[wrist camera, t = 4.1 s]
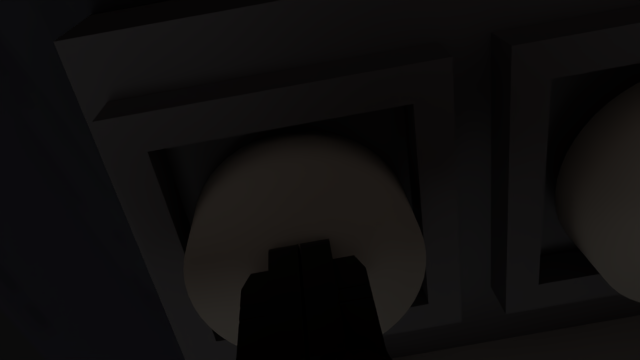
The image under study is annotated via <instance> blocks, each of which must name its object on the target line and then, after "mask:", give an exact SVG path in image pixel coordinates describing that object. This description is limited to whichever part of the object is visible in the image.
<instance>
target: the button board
mask: <svg viewBox="0 0 640 360" xmlns="http://www.w3.org/2000/svg"><path fill="white" fill-rule="evenodd" d="M54 44H55V47H56V49H57V52H58V54H59V56H60V59H61V61H62V64H63V66H64V68H65V71H66V73H67V76H68V78H69V81H70V83H71V85H72V88H73V90H74V93H75V95H76V97H77V100H78V102H79V105H80V107H81V109H82V112H83V114H84V117H85V119H86V122H87V124H88V126H89V129H90V131H91V134H92V136H93V138H94V141H95V143H96V146H97V148H98V150H99V153H100V155H101V158H102V160H103V163H104V165H105V167H106V170H107V172H108V175H109V177H110V179H111V182H112V184H113V187H114V189H115V191H116V194H117V196H118V199H119V201H120V204H121V206H122V208H123V211H124V213H125V216H126V218H127V220H128V223H129V225H130V228H131V230H132V232H133V235H134V237H135V240H136V242H137V244H138V247H139V249H140V252H141V254H142V257H143V259H144V261H145V264H146V266H147V269H148V271H149V273H150V276H151V278H152V281H153V283H154V285H155V288H156V290H157V293H158V295H159V298H160V300H161V302H162V305H163V307H164V310H165V312H166V314H167V317H168V319H169V322H170V324H171V326H172V329H173V331H174V334H175V336H176V339H177V341H178V343H179V346H180V348H181V351H182V353H183V355H184V358H185V360H236V355H237V346H236V345H234V344H232V343H230V342H229V341H227V340H226V339H224V338H223V337H221V336H220V335H218V334H217V333H216V332H215V331H214V330H212V329H211V328H210V327H209V326H208V325H207V324H206V323H205V321H204V320H203V319H202V318H201V317H200V316H199V314H198V313H197V311H196V310H195V308H194V307H193V304H192V302H191V300H190V298H189V296H188V293H187V289H186V286H185V281H184V272H183V268H184V256H185V251H186V247H187V243H188V238H189V234H190V230H191V226H192V222H193V217H194V213H195V209H196V205H197V200H198V198H199V195H200V193H201V190H202V188H203V186H204V185H205V183H206V181H207V180H208V178H209V177H210V175H211V174H212V173H213V172H214V170H215V169H216V168H217V167H218V166H219V165H220V164H221V163H222V162H223V161H224V160H225V159H226V158H227V157H229V156H230V155H231V154H233V153H234V152H236V151H237V150H238V149H240V148H242V147H244V146H246V145H247V144H249V143H251V142H253V141H256V140H259V139H261V138H264V137H267V136H270V135H274V134H278V133H283V132H291V131H319V132H327V133H331V134H335V135H339V136H343V137H346V138H348V139H351V140H353V141H356V142H358V143H360V144H361V145H363V146H365V147H367V148H369V149H370V150H371V151H373V152H374V153H375V154H377V155H378V156H379V157H380V158H381V159H382V160H383V161H384V162H385V163H386V164H387V165H388V166H389V167H390V168H391V169H392V171H393V172H394V174H395V175H396V176H397V178H398V180H399V182H400V184H401V186H402V188H403V190H404V192H405V195H406V197H407V199H408V202H409V204H410V206H411V209H412V211H413V213H414V216H415V218H416V220H417V223H418V225H419V227H420V230H421V233H422V236H423V239H424V243H425V249H426V268H425V274H424V279H423V282H422V285H421V288H420V291H419V292H418V294H417V296H416V298H415V300H414V302H413V303H412V305H411V306H410V308H409V309H408V311H407V312H406V313H405V314H404V315H403V316H402V318H401V319H400V320H399V321H398V322H397V323H396V324H395V325H393V326H392V327H391V328H390V329H389V330H388V331H386V332H385V333H383V334H382V335H383V339H384V343H385V347H386V350H387V352H388V354H389V356H390V357H391V359H392V360H640V302H637V301H634V300H631V299H629V298H627V297H625V296H623V295H622V294H620V293H618V292H617V291H616V290H615V289H613V288H612V287H611V286H610V285H609V284H608V283H607V281H606V280H605V279H604V278H603V277H602V276H601V274H600V273H599V272H598V271H597V270H596V268H595V267H594V266H593V265H592V264H591V263H590V261H589V260H588V259H587V258H586V257H585V255H584V254H583V253H582V252H581V251H580V250H579V248H578V247H577V246H576V245H575V244H574V242H573V241H572V240H571V239H570V238H569V236H568V235H567V234H566V233H565V231H564V229H563V228H562V226H561V224H560V221H559V218H558V216H557V211H556V205H555V189H556V182H557V177H558V174H559V171H560V167H561V165H562V162H563V160H564V158H565V155H566V153H567V151H568V150H569V148H570V146H571V145H572V143H573V141H574V139H575V138H576V137H577V135H578V134H579V133H580V131H581V130H582V129H583V127H584V126H585V125H586V124H587V123H588V122H589V121H590V119H591V118H592V117H593V116H594V115H595V114H596V113H597V112H598V111H599V110H601V109H602V108H603V107H604V106H605V105H606V104H607V103H608V102H610V101H611V100H612V99H614V98H615V97H616V96H618V95H619V94H620V93H622V92H624V91H625V90H627V89H628V88H630V87H632V86H633V85H635V84H637V83H639V82H640V0H170V1H165V2H159V3H154V4H148V5H143V6H137V7H132V8H126V9H121V10H115V11H110V12H105V13H99V14H94V15H90V16H89V17H87V18H86V19H85V20H83V21H82V22H80V23H79V24H78V25H76V26H75V27H73V28H72V29H71V30H69V31H68V32H66V33H65V34H64V35H62V36H61V37H59V38H58V39H57V40H55V41H54Z"/></svg>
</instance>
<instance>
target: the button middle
mask: <svg viewBox="0 0 640 360" xmlns="http://www.w3.org/2000/svg"><path fill="white" fill-rule="evenodd" d="M555 205H556V211H557V216H558V218H559V221H560V224H561V226H562V228H563V229H564V231H565V233H566V234H567V235H568V236H569V238H570V239H571V240H572V241H573V242H574V244H575V245H576V246H577V247H578V248H579V250H580V251H581V252H582V253H583V254H584V255H585V257H586V258H587V259H588V260H589V261H590V263H591V264H592V265H593V266H594V267H595V268H596V270H597V271H598V272H599V273H600V274H601V276H602V277H603V278H604V279H605V280H606V281H607V283H608V284H609V285H610V286H611V287H612V288H613V289H615V290H616V291H617V292H618V293H620V294H622V295H623V296H625V297H627V298H629V299H631V300H634V301H637V302H640V82H639V83H637V84H635V85H633V86H632V87H630V88H628V89H627V90H625V91H624V92H622V93H620V94H619V95H618V96H616V97H615V98H614V99H612V100H611V101H610V102H608V103H607V104H606V105H605V106H604V107H603V108H602V109H601V110H599V111H598V112H597V113H596V114H595V115H594V116H593V117H592V118H591V119H590V121H589V122H588V123H587V124H586V125H585V126H584V127H583V129H582V130H581V131H580V133H579V134H578V135H577V137H576V138H575V139H574V141H573V143H572V145H571V146H570V148H569V150H568V151H567V153H566V155H565V158H564V160H563V162H562V165H561V167H560V171H559V174H558V177H557V182H556V189H555Z"/></svg>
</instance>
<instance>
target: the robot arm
mask: <svg viewBox="0 0 640 360" xmlns="http://www.w3.org/2000/svg"><path fill="white" fill-rule="evenodd" d="M300 250H301V253H300ZM236 360H392V359H391V357H390V356H389V354H388V352H387V350H386V347H385V343H384V339H383V335H382V331H381V327H380V323H379V318H378V314H377V310H376V306H375V302H374V299H373V294H372V290H371V286H370V282H369V278H368V274H367V270H366V267H365V266H364V265H363V264H362V263H361V262H360V261H359V260H358V259H357V258H356V257H355V256H354V255H352V256H347V257H341V258H336V259H333V257H332V252H331V247H330V241H329V239H324V240H318V241H313V242H307V243H301V244H300V249H299V246H298V244H296V245H291V246H285V247H280V248H274V249H269V251H268V271H264V272H258V273H252V274H250V276H249V277H248V279H247V281H246V282H245V284H244V286H243V288H242V289H241V298H240V312H239V326H238V341H237V355H236Z"/></svg>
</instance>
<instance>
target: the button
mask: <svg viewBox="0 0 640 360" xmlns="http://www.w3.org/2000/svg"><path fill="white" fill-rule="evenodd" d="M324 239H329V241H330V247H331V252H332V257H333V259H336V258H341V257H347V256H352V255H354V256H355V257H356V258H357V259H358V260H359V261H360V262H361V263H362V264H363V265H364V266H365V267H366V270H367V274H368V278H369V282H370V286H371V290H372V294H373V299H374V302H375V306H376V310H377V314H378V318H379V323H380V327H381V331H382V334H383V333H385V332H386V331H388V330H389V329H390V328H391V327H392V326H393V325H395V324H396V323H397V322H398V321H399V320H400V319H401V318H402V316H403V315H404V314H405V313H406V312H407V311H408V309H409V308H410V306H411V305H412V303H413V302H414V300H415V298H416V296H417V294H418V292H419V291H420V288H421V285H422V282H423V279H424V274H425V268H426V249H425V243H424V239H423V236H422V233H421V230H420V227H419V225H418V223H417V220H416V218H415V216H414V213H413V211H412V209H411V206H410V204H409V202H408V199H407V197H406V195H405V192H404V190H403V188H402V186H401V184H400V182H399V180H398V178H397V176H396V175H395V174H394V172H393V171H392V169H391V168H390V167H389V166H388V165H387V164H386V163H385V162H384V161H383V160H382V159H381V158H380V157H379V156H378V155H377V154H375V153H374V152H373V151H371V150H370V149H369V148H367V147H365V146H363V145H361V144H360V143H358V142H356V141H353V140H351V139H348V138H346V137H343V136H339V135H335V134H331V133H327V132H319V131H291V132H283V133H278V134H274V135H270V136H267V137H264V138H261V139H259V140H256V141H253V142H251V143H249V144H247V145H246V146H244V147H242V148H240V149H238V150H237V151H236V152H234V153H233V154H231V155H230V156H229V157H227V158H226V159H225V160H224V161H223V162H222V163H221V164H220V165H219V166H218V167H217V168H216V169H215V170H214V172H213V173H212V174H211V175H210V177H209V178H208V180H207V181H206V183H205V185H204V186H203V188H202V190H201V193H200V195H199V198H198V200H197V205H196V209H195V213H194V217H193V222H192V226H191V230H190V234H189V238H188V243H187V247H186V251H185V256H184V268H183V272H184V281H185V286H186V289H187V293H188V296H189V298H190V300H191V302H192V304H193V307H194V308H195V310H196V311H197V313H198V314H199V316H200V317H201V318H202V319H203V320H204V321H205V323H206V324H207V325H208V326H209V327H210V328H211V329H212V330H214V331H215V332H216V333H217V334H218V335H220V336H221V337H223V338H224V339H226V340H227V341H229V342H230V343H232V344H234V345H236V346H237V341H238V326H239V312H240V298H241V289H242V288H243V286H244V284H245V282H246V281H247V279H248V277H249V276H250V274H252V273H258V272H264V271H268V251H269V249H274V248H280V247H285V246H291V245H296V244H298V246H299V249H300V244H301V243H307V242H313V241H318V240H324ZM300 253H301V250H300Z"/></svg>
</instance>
